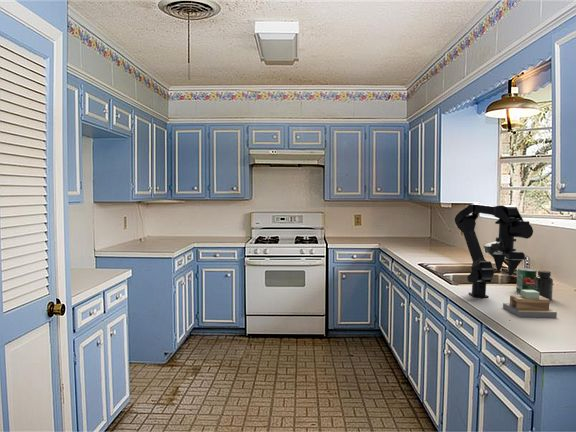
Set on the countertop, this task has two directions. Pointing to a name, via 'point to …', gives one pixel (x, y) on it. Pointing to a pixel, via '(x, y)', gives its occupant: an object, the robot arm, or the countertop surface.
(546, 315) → the dock
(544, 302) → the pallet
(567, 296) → the countertop surface
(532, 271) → the canned tomato
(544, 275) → the supplement bottle
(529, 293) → the pale green block
